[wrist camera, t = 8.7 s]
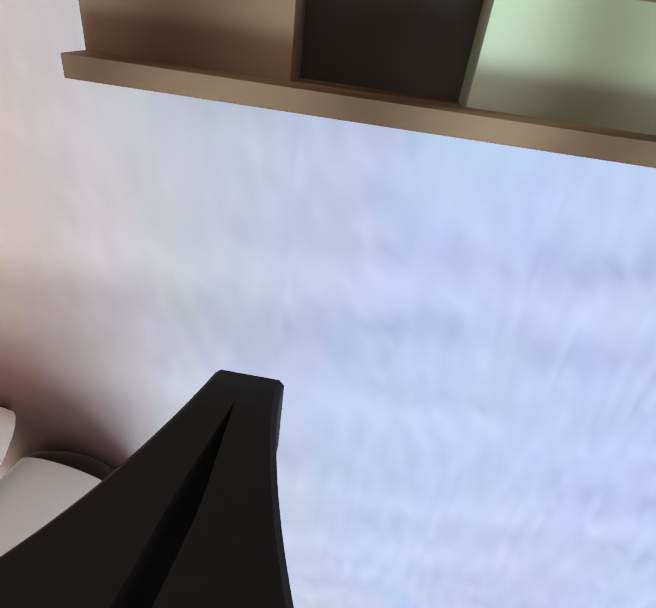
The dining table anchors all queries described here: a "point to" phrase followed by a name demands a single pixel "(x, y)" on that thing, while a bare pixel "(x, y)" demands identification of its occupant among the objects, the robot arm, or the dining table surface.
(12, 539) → the spread jar
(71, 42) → the dining table surface
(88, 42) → the brown shallow open box
